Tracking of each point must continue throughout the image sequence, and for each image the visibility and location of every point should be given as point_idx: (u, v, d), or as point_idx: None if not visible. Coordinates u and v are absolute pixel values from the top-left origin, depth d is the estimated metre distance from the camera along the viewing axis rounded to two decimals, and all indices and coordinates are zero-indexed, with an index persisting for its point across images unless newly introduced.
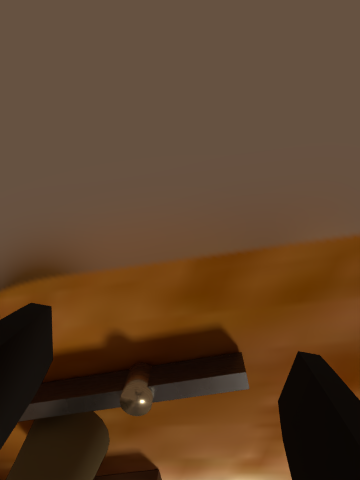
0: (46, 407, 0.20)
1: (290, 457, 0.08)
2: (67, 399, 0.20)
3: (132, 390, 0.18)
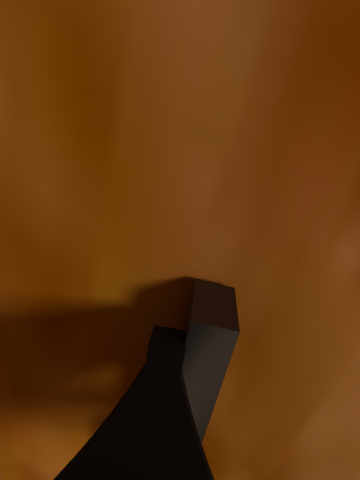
0: None
1: None
2: None
3: None
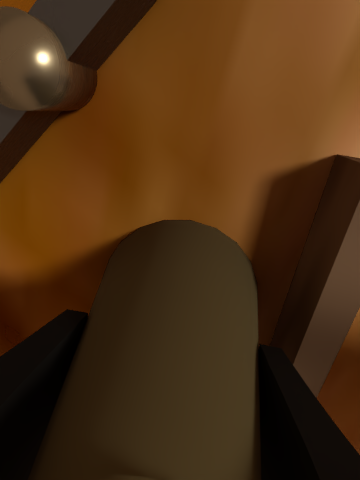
0: None
1: None
2: None
3: None
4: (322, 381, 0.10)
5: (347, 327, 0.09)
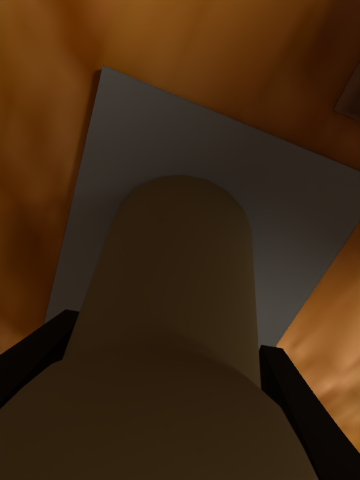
0: None
1: None
2: None
3: None
4: None
5: None
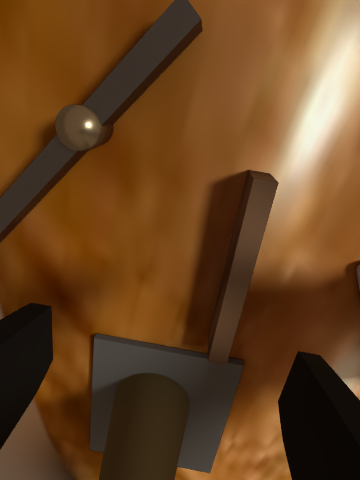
0: (5, 205, 0.16)
1: (290, 458, 0.08)
2: (18, 182, 0.16)
3: (62, 113, 0.14)
4: (243, 301, 0.17)
5: (252, 266, 0.16)
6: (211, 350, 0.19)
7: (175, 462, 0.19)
